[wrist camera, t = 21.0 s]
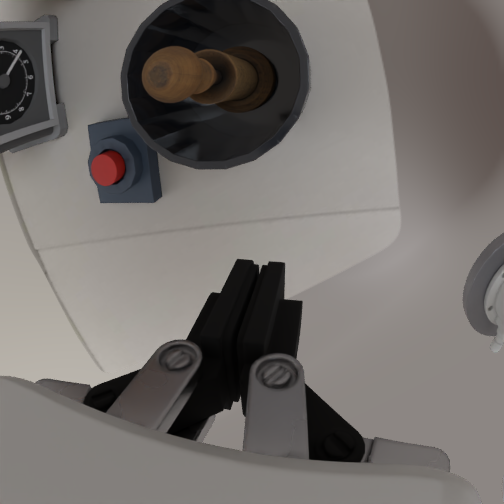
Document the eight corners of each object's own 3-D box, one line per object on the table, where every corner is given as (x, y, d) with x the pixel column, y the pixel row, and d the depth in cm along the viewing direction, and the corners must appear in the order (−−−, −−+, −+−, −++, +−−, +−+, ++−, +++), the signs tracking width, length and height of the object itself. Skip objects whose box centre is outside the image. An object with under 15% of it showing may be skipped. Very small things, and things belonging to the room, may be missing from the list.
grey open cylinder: (310, 142, 30) (308, 171, 20) (187, 142, 33) (130, 171, 22) (309, 18, 24) (305, -20, 14) (181, 28, 26) (118, 8, 16)
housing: (162, 196, 36) (146, 208, 33) (109, 196, 38) (92, 208, 34) (153, 113, 32) (135, 118, 28) (98, 122, 33) (78, 128, 30)
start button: (127, 180, 32) (119, 185, 31) (102, 181, 33) (93, 186, 31) (123, 149, 30) (114, 152, 29) (97, 152, 31) (88, 155, 30)
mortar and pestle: (275, 112, 29) (228, 141, 13) (211, 111, 30) (107, 145, 14) (276, 48, 25) (228, 0, 10) (211, 50, 26) (102, 24, 11)
